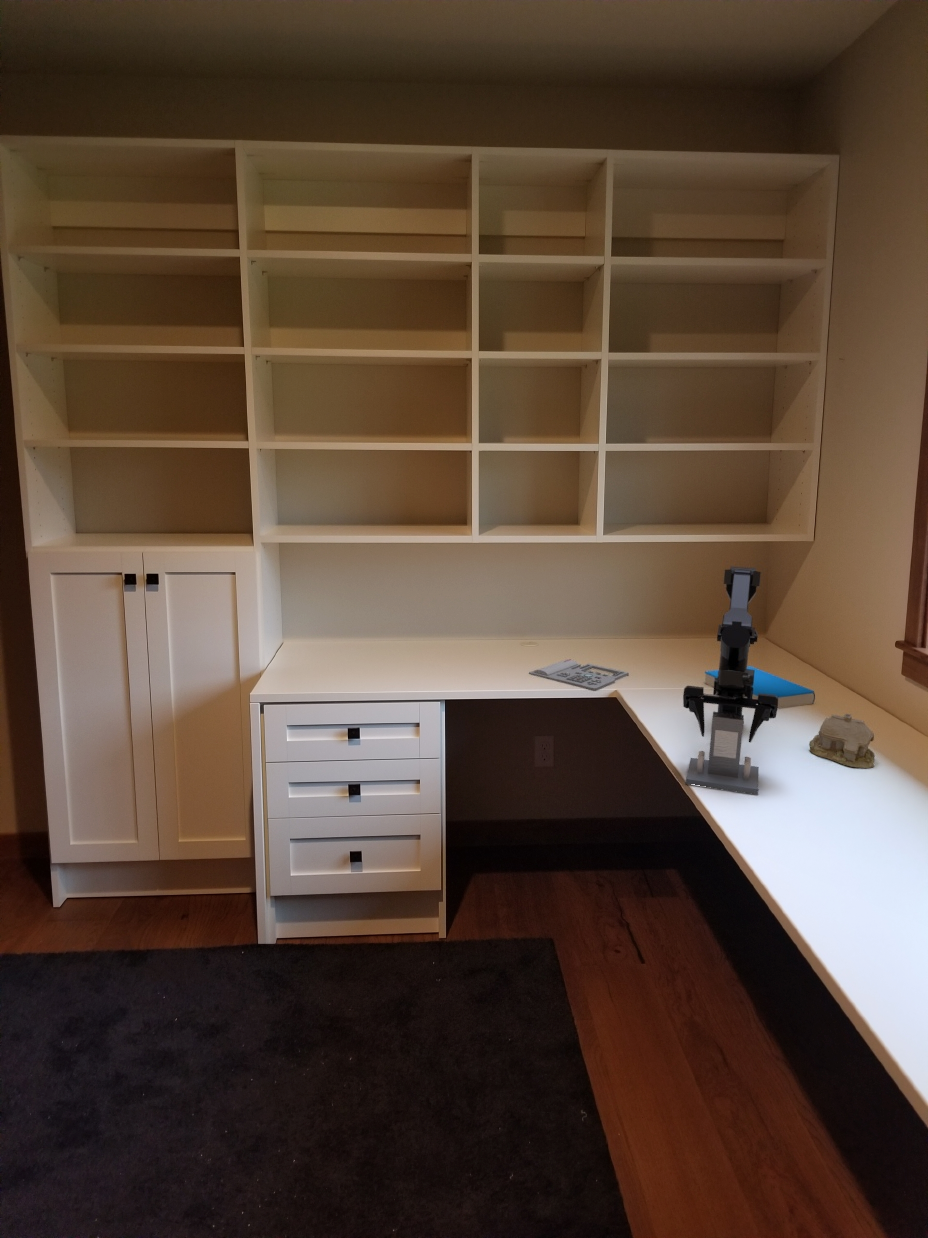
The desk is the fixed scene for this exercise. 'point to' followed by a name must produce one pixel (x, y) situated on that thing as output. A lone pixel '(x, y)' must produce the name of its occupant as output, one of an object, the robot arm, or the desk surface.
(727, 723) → the block
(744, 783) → the grey pegged stand
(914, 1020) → the desk surface
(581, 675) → the office telephone
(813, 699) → the book
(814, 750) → the ceramic model
